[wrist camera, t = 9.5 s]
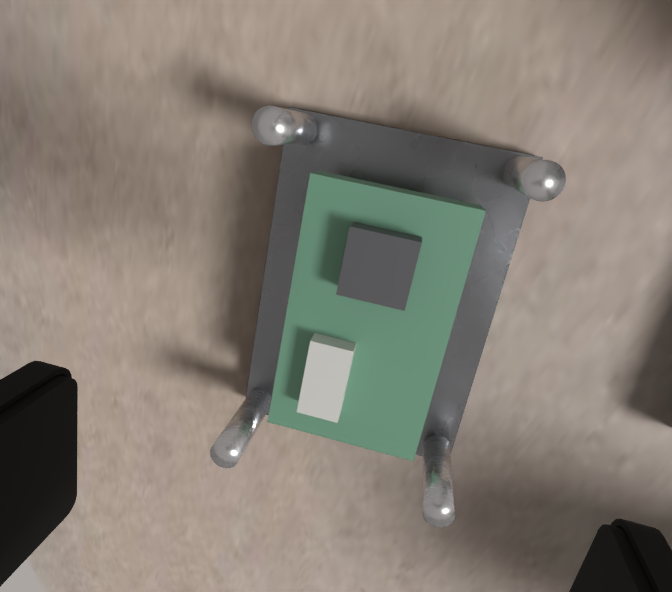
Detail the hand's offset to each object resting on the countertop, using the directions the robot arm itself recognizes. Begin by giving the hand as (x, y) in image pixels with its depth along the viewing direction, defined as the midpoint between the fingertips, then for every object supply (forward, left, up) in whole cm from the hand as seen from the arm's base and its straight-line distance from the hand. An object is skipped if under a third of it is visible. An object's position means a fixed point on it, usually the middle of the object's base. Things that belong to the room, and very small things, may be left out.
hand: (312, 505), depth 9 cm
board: (0, 0, -12) cm, 12 cm away
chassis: (0, 0, -15) cm, 15 cm away
